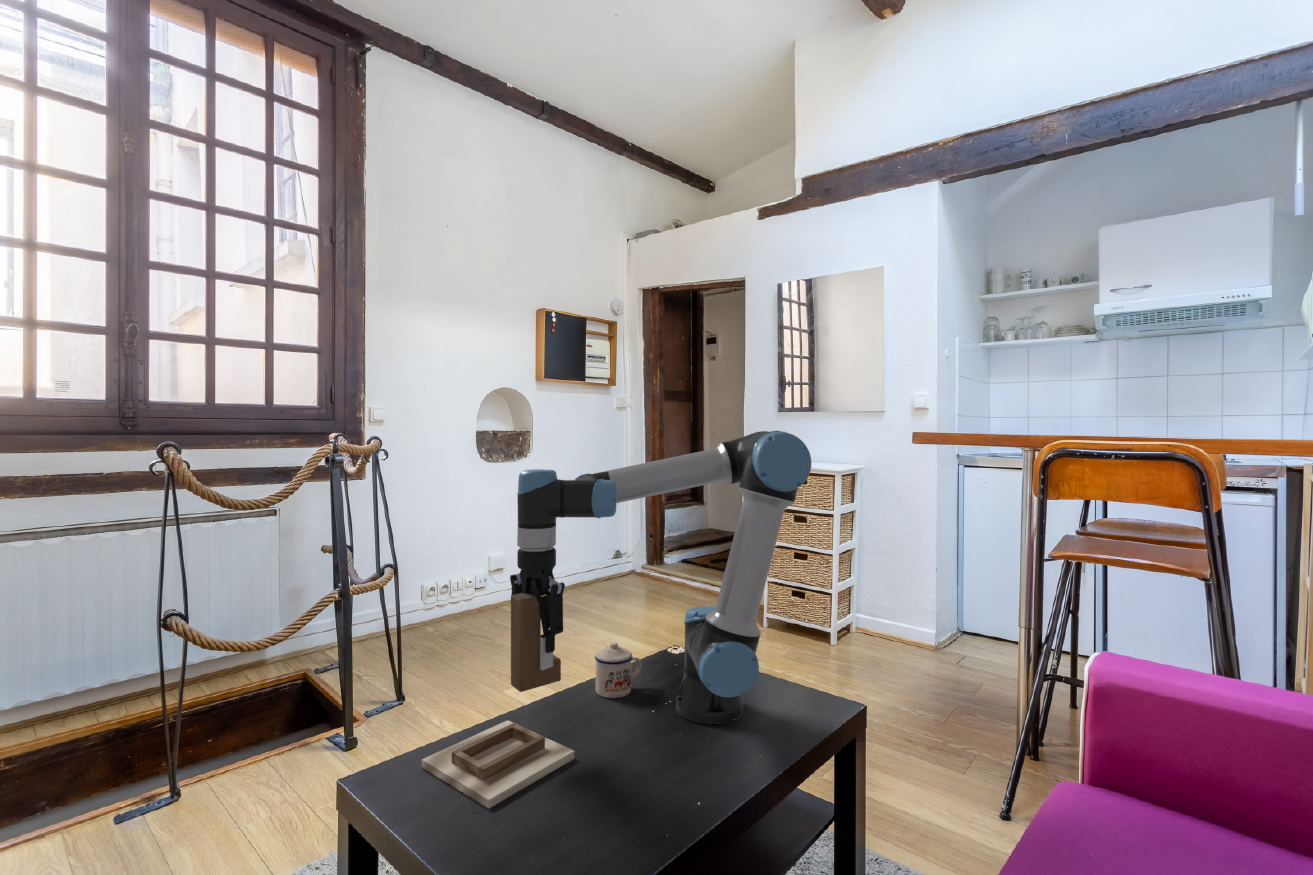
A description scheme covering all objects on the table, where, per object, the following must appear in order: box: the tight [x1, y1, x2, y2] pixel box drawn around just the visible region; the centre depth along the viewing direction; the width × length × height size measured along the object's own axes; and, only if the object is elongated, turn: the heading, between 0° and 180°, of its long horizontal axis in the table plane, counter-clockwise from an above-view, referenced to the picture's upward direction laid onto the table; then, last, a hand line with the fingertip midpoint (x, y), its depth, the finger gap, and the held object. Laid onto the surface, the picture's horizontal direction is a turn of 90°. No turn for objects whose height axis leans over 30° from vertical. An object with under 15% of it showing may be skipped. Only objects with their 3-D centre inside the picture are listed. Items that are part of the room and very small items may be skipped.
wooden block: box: [510, 593, 562, 693], centre depth 122 cm, size 9×4×18 cm, turn 128°
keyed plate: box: [421, 719, 576, 810], centre depth 116 cm, size 20×20×4 cm
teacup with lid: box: [594, 641, 642, 699], centre depth 150 cm, size 12×9×12 cm
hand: (536, 664), depth 122 cm, fingers closed on wooden block, 5 cm apart
